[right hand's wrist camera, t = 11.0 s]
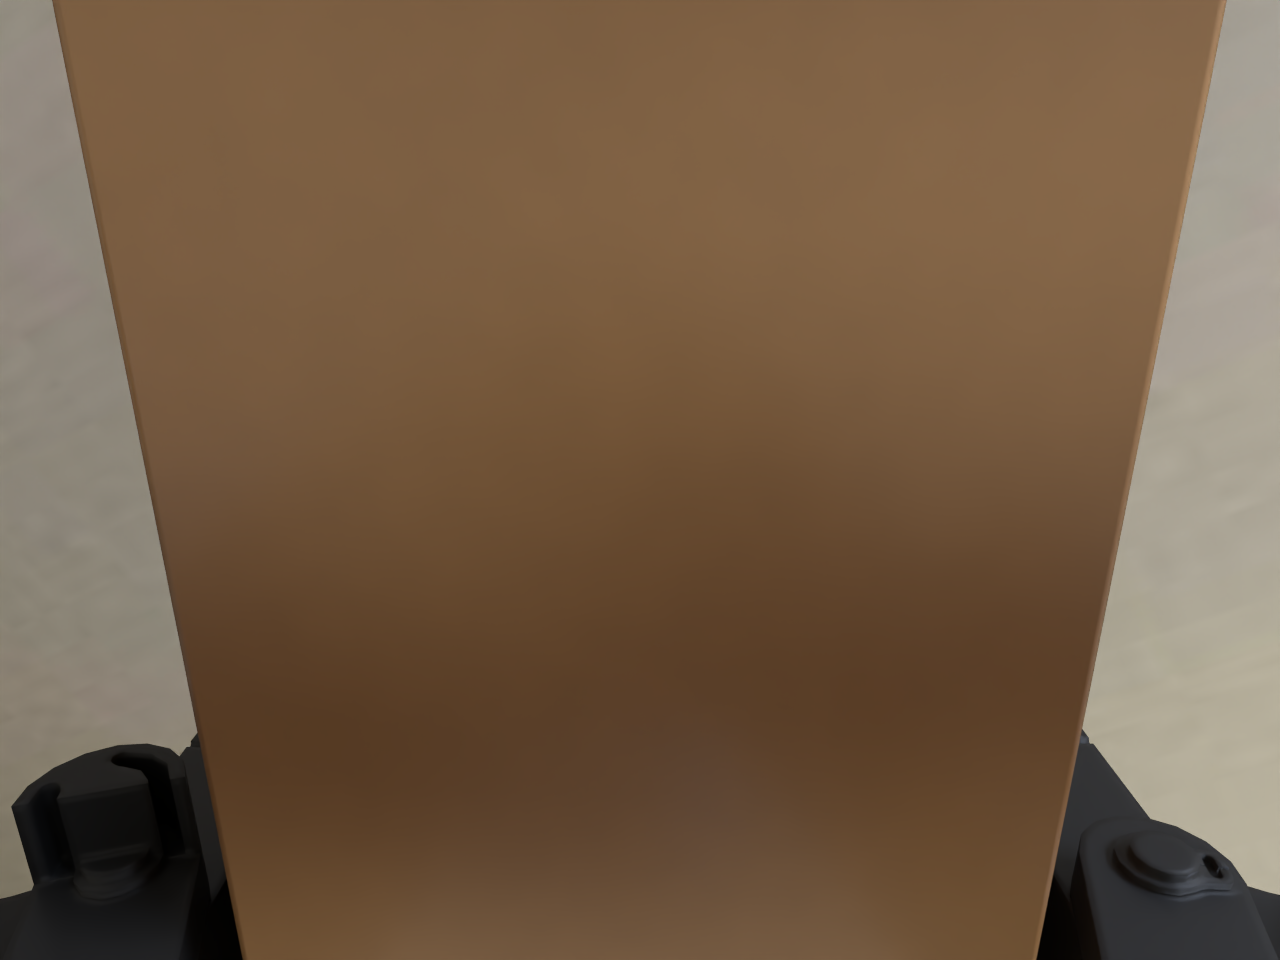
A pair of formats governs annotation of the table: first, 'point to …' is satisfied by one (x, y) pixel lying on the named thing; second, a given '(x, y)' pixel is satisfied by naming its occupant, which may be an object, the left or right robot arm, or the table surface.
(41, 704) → the table surface
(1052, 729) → the box
